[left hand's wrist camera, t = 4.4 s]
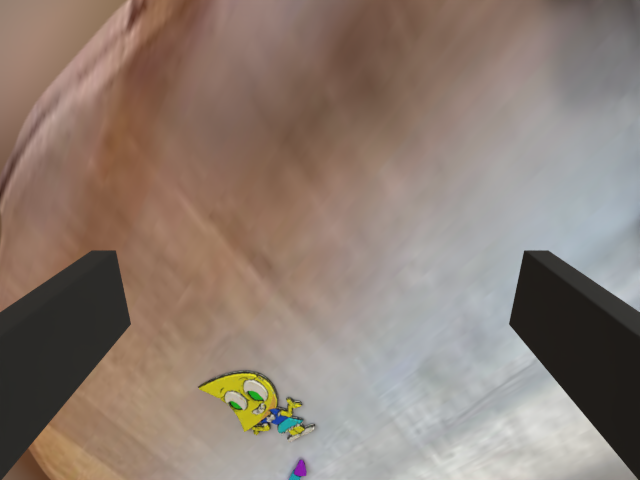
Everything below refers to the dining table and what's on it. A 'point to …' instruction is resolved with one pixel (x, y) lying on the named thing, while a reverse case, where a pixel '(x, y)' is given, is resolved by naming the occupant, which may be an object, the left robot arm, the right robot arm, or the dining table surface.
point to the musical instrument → (298, 471)
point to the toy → (256, 403)
